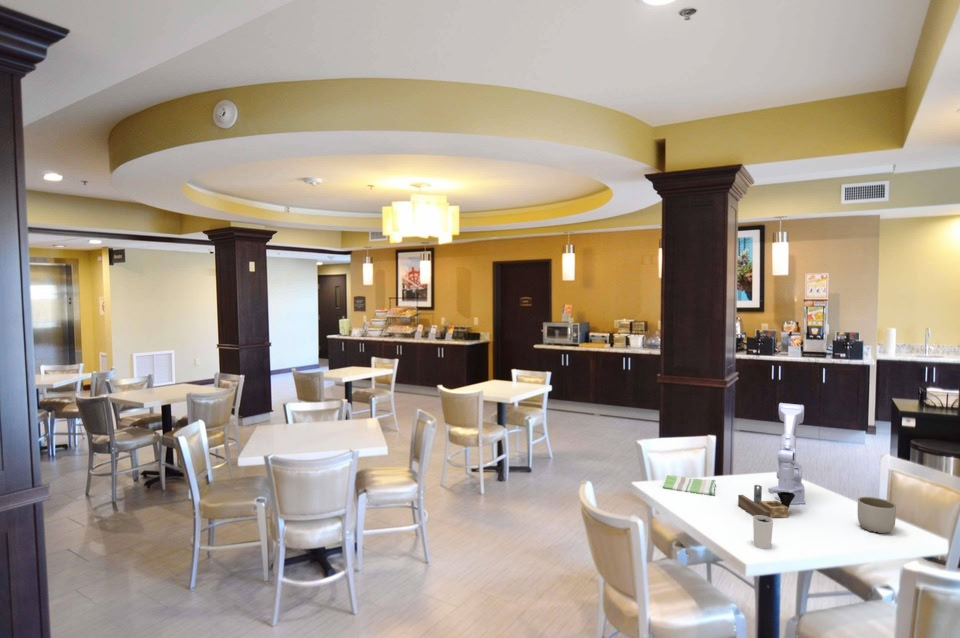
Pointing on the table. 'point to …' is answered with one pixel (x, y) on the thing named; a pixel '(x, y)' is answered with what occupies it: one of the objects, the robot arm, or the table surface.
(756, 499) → the dowel
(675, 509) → the table surface
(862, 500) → the planter
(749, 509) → the wooden plank
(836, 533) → the table surface
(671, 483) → the dish towel
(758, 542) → the white cup
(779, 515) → the block
